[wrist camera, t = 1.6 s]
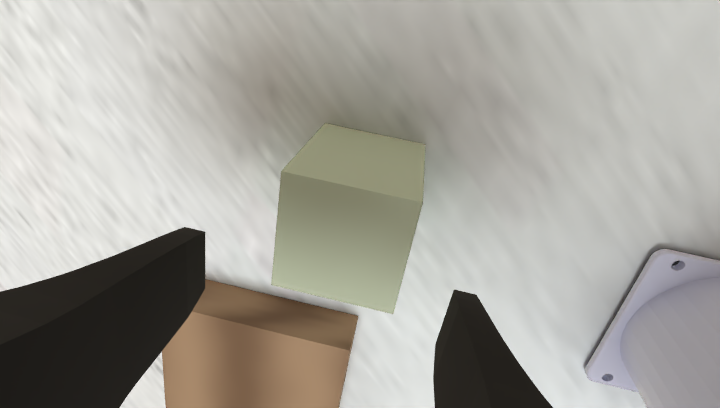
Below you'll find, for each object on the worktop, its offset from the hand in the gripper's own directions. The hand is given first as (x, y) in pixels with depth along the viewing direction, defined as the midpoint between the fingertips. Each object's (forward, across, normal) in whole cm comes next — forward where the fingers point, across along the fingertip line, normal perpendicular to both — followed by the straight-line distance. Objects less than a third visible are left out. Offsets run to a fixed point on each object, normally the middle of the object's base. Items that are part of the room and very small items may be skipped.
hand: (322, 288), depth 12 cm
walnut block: (+9, +4, +13) cm, 16 cm away
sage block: (+8, 0, 0) cm, 8 cm away
